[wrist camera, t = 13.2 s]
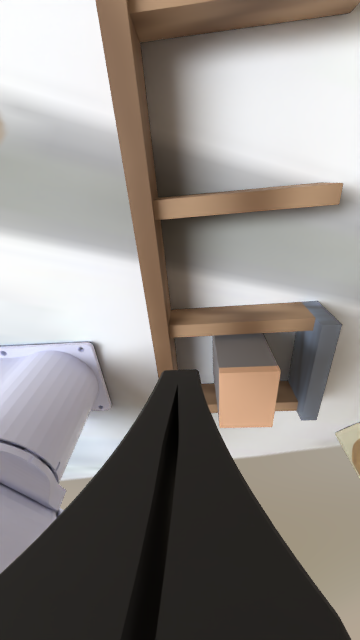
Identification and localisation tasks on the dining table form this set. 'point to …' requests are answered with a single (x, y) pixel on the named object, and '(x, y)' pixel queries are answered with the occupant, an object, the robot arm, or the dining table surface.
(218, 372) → the tan box
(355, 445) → the skincare box
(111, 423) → the dining table surface
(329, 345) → the divider rack
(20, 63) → the dining table surface
